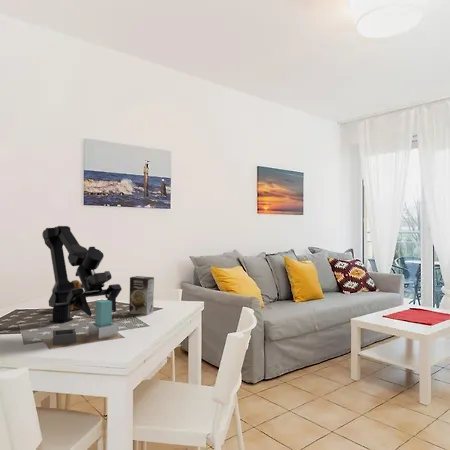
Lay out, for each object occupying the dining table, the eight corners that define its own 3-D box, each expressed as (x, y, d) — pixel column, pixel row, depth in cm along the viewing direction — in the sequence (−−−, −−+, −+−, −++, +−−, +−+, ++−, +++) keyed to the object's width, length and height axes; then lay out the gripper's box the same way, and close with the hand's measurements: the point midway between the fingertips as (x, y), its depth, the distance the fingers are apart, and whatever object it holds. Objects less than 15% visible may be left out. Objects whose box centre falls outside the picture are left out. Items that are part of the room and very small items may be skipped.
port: (88, 335, 136) (88, 324, 136) (107, 331, 142) (107, 320, 142) (98, 339, 131) (98, 327, 131) (117, 335, 137) (118, 324, 137)
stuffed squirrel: (91, 307, 187) (92, 279, 187) (71, 313, 174) (71, 283, 174) (74, 305, 190) (74, 278, 190) (52, 311, 177) (53, 282, 177)
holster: (52, 339, 131) (53, 330, 131) (74, 337, 134) (74, 328, 134) (53, 345, 125) (53, 335, 125) (75, 343, 128) (76, 333, 128)
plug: (94, 335, 136) (95, 301, 136) (105, 333, 139) (106, 299, 139) (100, 338, 133) (101, 302, 133) (111, 335, 137) (112, 301, 137)
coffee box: (128, 313, 174) (129, 277, 174) (136, 310, 180) (136, 275, 180) (147, 315, 171) (147, 278, 171) (153, 312, 177) (154, 276, 178)
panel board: (49, 351, 121) (49, 349, 121) (42, 341, 131) (42, 339, 131) (124, 339, 135) (124, 337, 135) (113, 331, 145) (113, 329, 145)
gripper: (70, 265, 134) (85, 303, 126) (119, 262, 147) (135, 296, 139) (60, 285, 139) (74, 322, 131) (108, 281, 152) (123, 314, 145)
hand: (103, 313), depth 137 cm, fingers open, 9 cm apart
